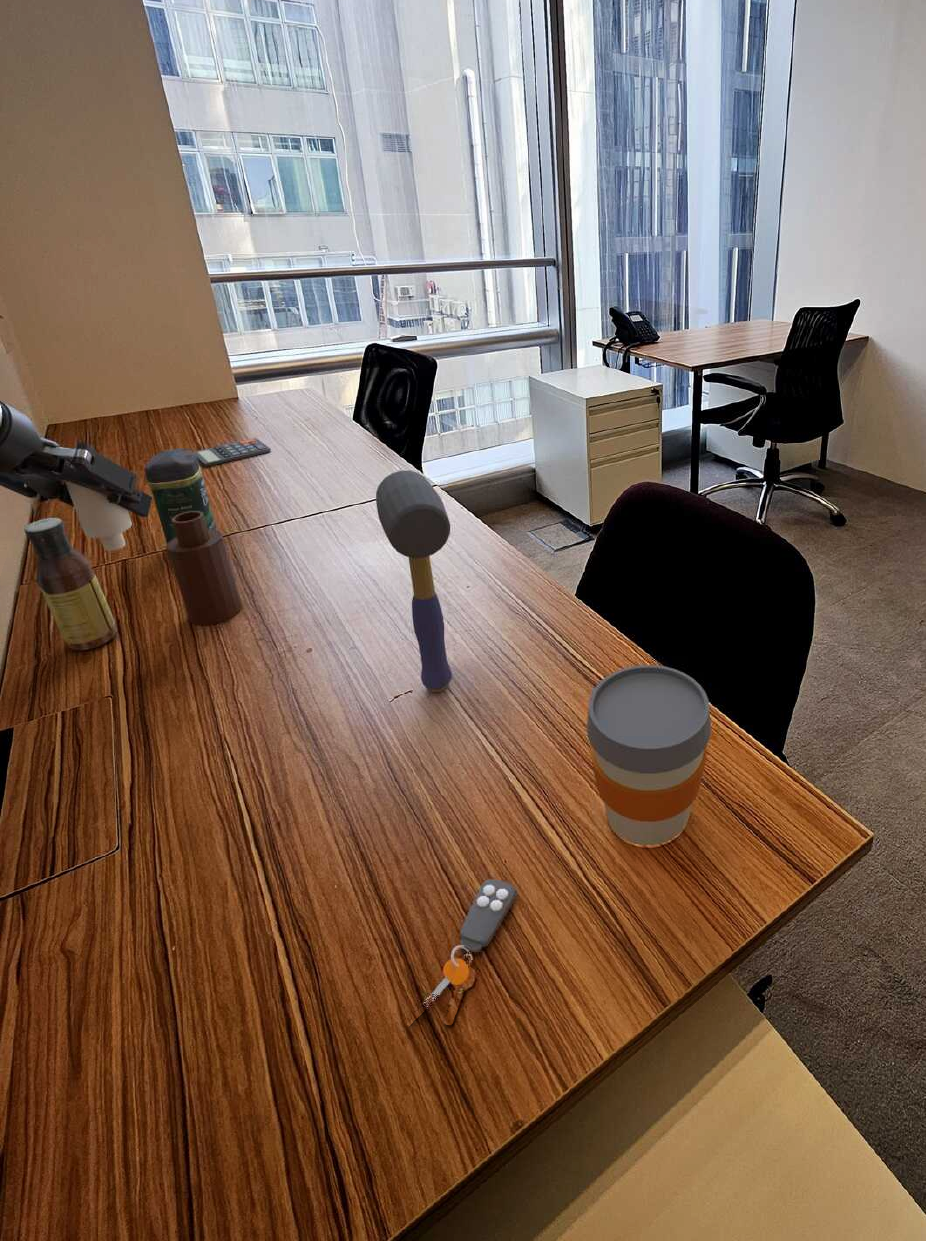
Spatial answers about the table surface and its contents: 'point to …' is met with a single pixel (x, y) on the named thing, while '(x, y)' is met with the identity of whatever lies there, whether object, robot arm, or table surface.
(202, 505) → the coffee jar
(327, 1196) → the table surface
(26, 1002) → the table surface
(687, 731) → the reusable coffee cup
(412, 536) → the rubber mallet
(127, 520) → the bung
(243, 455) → the calculator
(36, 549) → the sauce bottle
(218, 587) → the bottle
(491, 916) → the key chain
